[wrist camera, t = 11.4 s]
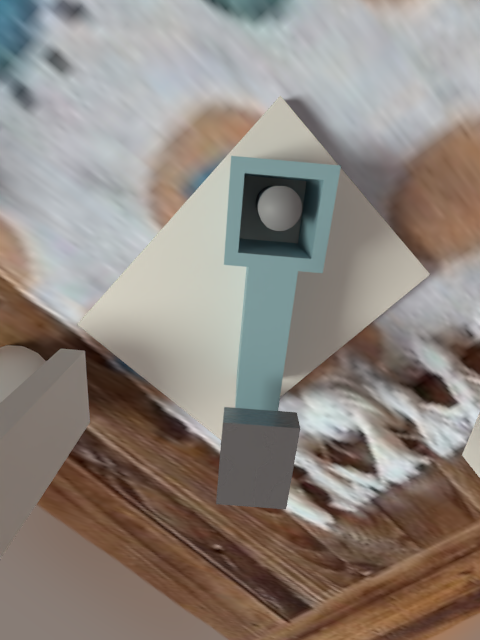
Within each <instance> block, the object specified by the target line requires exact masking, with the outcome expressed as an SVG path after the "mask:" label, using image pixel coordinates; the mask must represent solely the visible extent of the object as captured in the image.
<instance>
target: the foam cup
mask: <svg viewBox="0 0 480 640" xmlns="http://www.w3.org/2000/svg"><path fill="white" fill-rule="evenodd" d="M45 362H46V361H45V360H44V359H43V358H42V357H41V356H40V355H39V354H38V353H37V352H34V351H32V350H30V349H28V348H26V347H24V346H12V345H6V346H4V347H1V348H0V403H1V402H2V401H3V400H4V399H5V398H6V397H7V396H9V395H10V394H11V393H12V392H13V391H14V390H15V389H16V388H17V387H19V386H20V385H21V384H22V383H23V382H24V381H25V380H26V379H27V378H29V377H30V376H31V375H32V374H33V373H34V372H35V371H36V370H37V369H39V368H40V367H41V366H42V365H43V364H44V363H45Z"/></svg>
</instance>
